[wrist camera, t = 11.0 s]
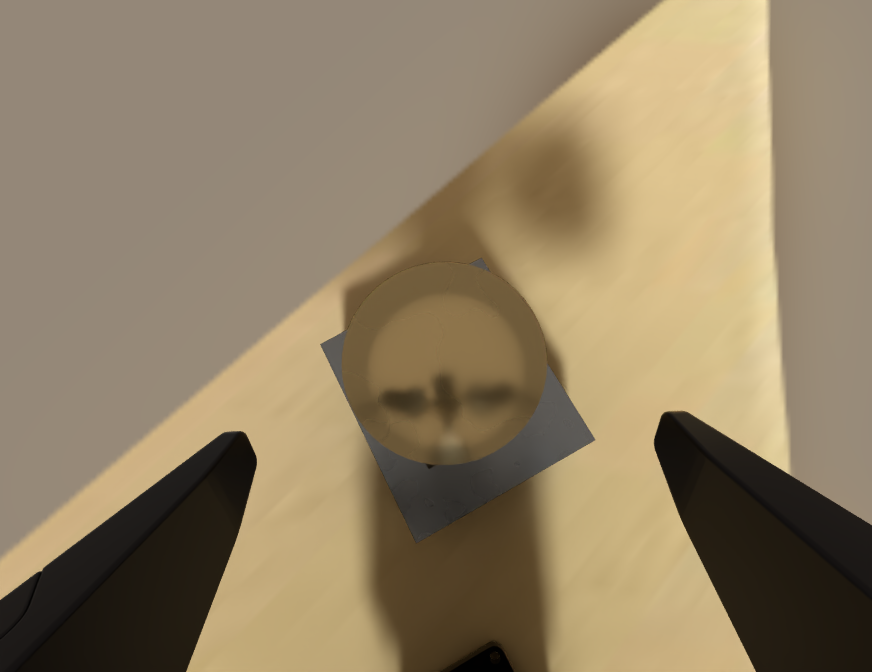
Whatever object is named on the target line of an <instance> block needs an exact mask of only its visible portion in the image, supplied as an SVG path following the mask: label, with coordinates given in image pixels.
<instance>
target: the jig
mask: <svg viewBox="0 0 872 672" xmlns="http://www.w3.org/2000/svg"><path fill="white" fill-rule="evenodd" d="M469 265H473V266H476V267H479V268H481V269H484V270H487V271H489V269H488V267H487V266H486V264H485V263H484V261H483V259H482V258H480V259H478V260H476V261H475V262H473V263H471V264H469ZM489 272H490V271H489ZM346 333H347V330H346V331H344V332H342V333H340V334H338V335H337V336H335V337H333V338H331V339H329V340H327V341H325V342H324V343H322V344H320V345H321V347H322V349H323V351H324V353H325V355H326V357H327V359H328V361H329V363H330V366H331V368H332V370H333V372H334V374H335V376H336V378H337V380H338V382H339V384H340V386H341V388H342V390H343V393H344V395H345V397H346V399H347V401H348V403H349V400H348V398H347V395H346V392H345V388H344V383H343V378H342V351H343V345H344V340H345V336H346ZM349 405H350V403H349ZM350 407H351V406H350ZM351 409H352V407H351ZM352 411H353V409H352ZM353 413H354V411H353ZM354 415H355V413H354ZM355 417H356V415H355ZM356 419H357V422H358V424H359V426H360V428H361V430H362V432H363V434H364V436H365V438H366V440H367V442H368V444H369V446H370V448H371V451H372V453H373V455H374V457H375V459H376V461H377V463H378V465H379V467H380V469H381V471H382V473H383V475H384V477H385V480H386V482H387V484H388V486H389V488H390V490H391V492H392V494H393V496H394V498H395V500H396V502H397V504H398V506H399V509H400V511H401V513H402V515H403V517H404V519H405V521H406V523H407V525H408V527H409V529H410V531H411V533H412V536H413V538H414V540H415V542H416V543H418V542H420V541H421V540H423V539H425V538H426V537H428V536H430V535H432V534H433V533H435V532H437V531H439V530H440V529H442V528H444V527H446V526H447V525H449V524H451V523H452V522H454V521H456V520H458V519H459V518H461V517H463V516H465V515H466V514H468V513H470V512H472V511H473V510H475V509H477V508H478V507H480V506H482V505H484V504H485V503H487V502H489V501H491V500H492V499H494V498H496V497H497V496H499V495H501V494H503V493H504V492H506V491H508V490H510V489H511V488H513V487H515V486H517V485H518V484H520V483H522V482H523V481H525V480H527V479H529V478H530V477H532V476H534V475H536V474H537V473H539V472H541V471H542V470H544V469H546V468H548V467H549V466H551V465H553V464H555V463H556V462H558V461H560V460H562V459H563V458H565V457H567V456H568V455H570V454H572V453H574V452H575V451H577V450H579V449H581V448H582V447H584V446H586V445H588V444H589V443H591V442H593V441H594V440H595V438H594V437H593V435H592V434H591V432H590V430H589V429H588V427H587V426H586V424H585V422H584V421H583V419H582V418H581V416H580V414H579V413H578V411H577V410H576V408H575V406H574V405H573V403H572V402H571V400H570V398H569V397H568V395H567V394H566V392H565V390H564V389H563V387H562V386H561V384H560V382H559V381H558V379H557V378H556V376H555V375H554V373H553V371H552V370H551V368H550V367H549V365H548V363H547V375H546V381H545V386H544V390H543V393H542V396H541V399H540V402H539V404H538V406H537V408H536V410H535V412H534V414H533V415H532V417H531V418H530V420H529V421H528V423H527V424H526V426H525V427H524V428H523V429H522V430H521V431H520V432H519V433H518V434H517V436H516V437H514V438H513V439H512V440H511V441H510V442H508V443H507V444H506V445H505V446H503V447H502V448H500V449H498V450H497V451H495V452H494V453H492V454H490V455H487V456H485V457H483V458H480V459H478V460H474V461H471V462H467V463H462V464H455V465H433V464H426V463H421V462H417V461H413V460H410V459H407V458H405V457H403V456H400V455H398V454H396V453H394V452H393V451H391V450H389V449H388V448H386V447H384V446H383V445H382V444H381V443H379V442H378V441H377V440H376V439H375V438H373V437H372V436H371V434H370V433H369V432H368V431H367V430H366V429H365V428H364V427H363V425H362V424H361V423H360V421H359V420H358V418H357V417H356Z"/></svg>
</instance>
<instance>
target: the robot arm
mask: <svg viewBox="0 0 872 672" xmlns="http://www.w3.org/2000/svg"><path fill="white" fill-rule="evenodd" d="M654 447H655V451H656V454H657V456H658V459H659V462H660V465H661V467H662V470H663V473H664V475H665V478H666V481H667V484H668V486H669V489H670V492H671V494H672V497H673V500H674V503H675V505H676V508H677V510H678V513H679V515H680V518H681V520H682V522H683V525H684V527H685V529H686V531H687V533H688V535H689V537H690V539H691V541H692V543H693V545H694V547H695V549H696V551H697V553H698V555H699V557H700V559H701V561H702V563H703V565H704V567H705V569H706V571H707V573H708V576H709V578H710V580H711V582H712V584H713V586H714V588H715V590H716V592H717V594H718V596H719V598H720V600H721V602H722V604H723V606H724V608H725V610H726V612H727V614H728V616H729V618H730V620H731V622H732V624H733V626H734V628H735V630H736V632H737V634H738V636H739V638H740V640H741V642H742V644H743V646H744V648H745V650H746V652H747V654H748V656H749V658H750V661H751V663H752V665H753V667H754V669H755V671H756V672H872V525H870V524H869V523H867V522H865V521H864V520H862V519H861V518H859V517H857V516H856V515H854V514H852V513H851V512H849V511H848V510H846V509H844V508H843V507H841V506H839V505H838V504H836V503H835V502H833V501H831V500H830V499H828V498H826V497H825V496H823V495H822V494H820V493H818V492H817V491H815V490H813V489H812V488H810V487H808V486H807V485H805V484H804V483H802V482H800V481H799V480H797V479H795V478H794V477H792V476H791V475H789V474H787V473H786V472H784V471H782V470H781V469H779V468H778V467H776V466H774V465H773V464H771V463H769V462H768V461H766V460H765V459H763V458H761V457H760V456H758V455H756V454H755V453H753V452H752V451H750V450H748V449H747V448H745V447H743V446H742V445H740V444H739V443H737V442H735V441H734V440H732V439H730V438H729V437H727V436H726V435H724V434H722V433H721V432H719V431H717V430H716V429H714V428H713V427H711V426H709V425H708V424H706V423H704V422H703V421H701V420H699V419H698V418H696V417H695V416H693V415H691V414H690V413H688V412H685V411H668V412H664V413H663V414H662V416H661V419H660V422H659V425H658V428H657V432H656V435H655V438H654ZM256 466H257V458H256V455H255V452H254V450H253V448H252V446H251V444H250V441H249V439H248V437H247V435H246V434H245V433H244V432H242V431H233V432H224V433H222V434H221V435H219V436H218V437H217V438H215V439H214V440H213V441H211V442H210V443H209V444H207V445H206V446H205V447H203V448H202V449H201V450H199V451H198V452H197V453H195V454H194V455H193V456H191V457H190V458H189V459H187V460H186V461H185V462H183V463H182V464H181V465H179V466H178V467H177V468H175V469H174V470H173V471H172V472H170V473H169V474H168V475H166V476H165V477H164V478H162V479H161V480H160V481H158V482H157V483H156V484H154V485H153V486H152V487H150V488H149V489H148V490H146V491H145V492H144V493H142V494H141V495H140V496H138V497H137V498H136V499H134V500H133V501H132V502H130V503H129V504H128V505H126V506H125V507H124V508H122V509H121V510H120V511H118V512H117V513H116V514H114V515H113V516H112V517H110V518H109V519H108V520H106V521H105V522H104V523H102V524H101V525H100V526H98V527H97V528H96V529H94V530H93V531H92V532H90V533H89V534H88V535H86V536H85V537H84V538H82V539H81V540H80V541H78V542H77V543H76V544H74V545H73V546H72V547H70V548H69V549H68V550H66V551H65V552H64V553H62V554H61V555H60V556H58V557H57V558H56V559H54V560H53V561H52V562H50V563H49V564H48V565H46V566H45V567H44V568H43V570H42V571H39V572H37V573H36V574H34V575H33V576H32V577H30V578H29V579H28V580H26V581H25V582H24V583H22V584H21V585H20V586H18V587H17V588H16V589H14V590H13V591H12V592H10V593H9V594H8V595H6V596H5V597H4V598H2V599H1V600H0V672H186V671H187V668H188V665H189V663H190V660H191V657H192V655H193V652H194V650H195V647H196V644H197V642H198V639H199V636H200V634H201V631H202V629H203V626H204V623H205V621H206V618H207V615H208V613H209V610H210V607H211V605H212V602H213V600H214V597H215V594H216V592H217V589H218V586H219V584H220V581H221V579H222V576H223V573H224V571H225V568H226V565H227V563H228V560H229V558H230V555H231V552H232V550H233V547H234V544H235V541H236V539H237V536H238V533H239V529H240V526H241V523H242V519H243V515H244V512H245V508H246V504H247V500H248V497H249V493H250V489H251V485H252V482H253V478H254V474H255V470H256ZM492 652H497V653H498V654H499V657H498V658H497V659H495V660H494V659H492V658H491V657H490V654H491V653H492ZM441 672H515V670H514V668H513V666H512V664H511V662H510V660H509V658H508V656H507V654H506V652H505V650H504V648H503V647H502V646H501V644H499V643H498V642H490V643H488V644H486V645H485V646H483V647H481V648H480V649H478V650H476V651H475V652H473V653H471V654H470V655H468V656H466V657H465V658H463V659H461V660H460V661H458V662H456V663H455V664H453V665H451V666H450V667H448V668H446V669H445V670H443V671H441Z"/></svg>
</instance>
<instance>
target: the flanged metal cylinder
mask: <svg viewBox="0 0 872 672" xmlns="http://www.w3.org/2000/svg"><path fill="white" fill-rule="evenodd" d="M546 375H547V352H546V345H545V340H544V336H543V333H542V330H541V327H540V324H539V322H538V320H537V318H536V316H535V314H534V312H533V311H532V309H531V308H530V306H529V305H528V303H527V302H526V300H525V299H524V298H523V297H522V296H521V295H520V294H519V293H518V292H517V291H516V290H515V289H514V288H513V287H512V286H511V285H509V284H508V283H507V282H506V281H504V280H503V279H501V278H500V277H498V276H497V275H495V274H493V273H491V272H489V271H487V270H484V269H481V268H479V267H476V266H473V265H468V264H463V263H456V262H433V263H427V264H421V265H418V266H414V267H411V268H408V269H406V270H404V271H401V272H399V273H397V274H395V275H394V276H392V277H390V278H388V279H387V280H386V281H384V282H383V283H382V284H380V285H379V286H378V287H376V288H375V289H374V290H373V291H372V292H371V293H370V294H369V295H368V296H367V298H366V299H365V300H364V301H363V303H362V304H361V305H360V307H359V308H358V310H357V311H356V313H355V315H354V316H353V318H352V321H351V323H350V325H349V327H348V330H347V333H346V336H345V340H344V345H343V351H342V378H343V383H344V388H345V392H346V395H347V398H348V400H349V403H350V406H351V407H352V409H353V411H354V413H355V415H356V417H357V418H358V420H359V421H360V423H361V424H362V425H363V427H364V428H365V429H366V430H367V431H368V432H369V433H370V434H371V436H372V437H373V438H375V439H376V440H377V441H378V442H379V443H381V444H382V445H383V446H384V447H386V448H388V449H389V450H391V451H393V452H394V453H396V454H398V455H400V456H403V457H405V458H407V459H410V460H413V461H417V462H421V463H426V464H433V465H455V464H462V463H467V462H471V461H474V460H478V459H480V458H483V457H485V456H487V455H490V454H492V453H494V452H495V451H497V450H498V449H500V448H502V447H503V446H505V445H506V444H507V443H508V442H510V441H511V440H512V439H513V438H514V437H516V436H517V434H518V433H519V432H520V431H521V430H522V429H523V428H524V427H525V426H526V424H527V423H528V421H529V420H530V418H531V417H532V415H533V414H534V412H535V410H536V408H537V406H538V404H539V402H540V399H541V396H542V393H543V390H544V386H545V381H546Z"/></svg>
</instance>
